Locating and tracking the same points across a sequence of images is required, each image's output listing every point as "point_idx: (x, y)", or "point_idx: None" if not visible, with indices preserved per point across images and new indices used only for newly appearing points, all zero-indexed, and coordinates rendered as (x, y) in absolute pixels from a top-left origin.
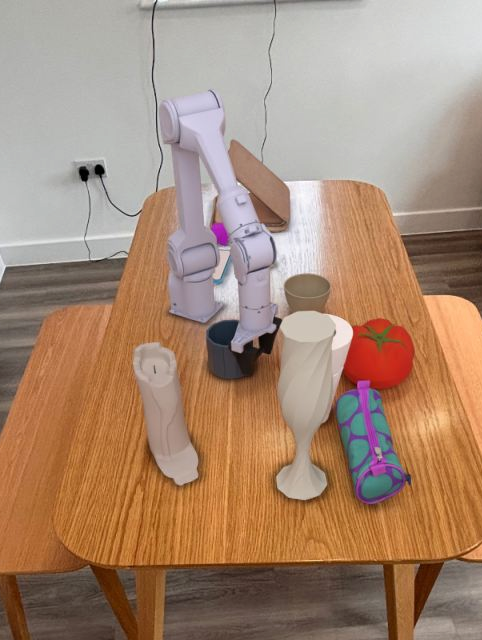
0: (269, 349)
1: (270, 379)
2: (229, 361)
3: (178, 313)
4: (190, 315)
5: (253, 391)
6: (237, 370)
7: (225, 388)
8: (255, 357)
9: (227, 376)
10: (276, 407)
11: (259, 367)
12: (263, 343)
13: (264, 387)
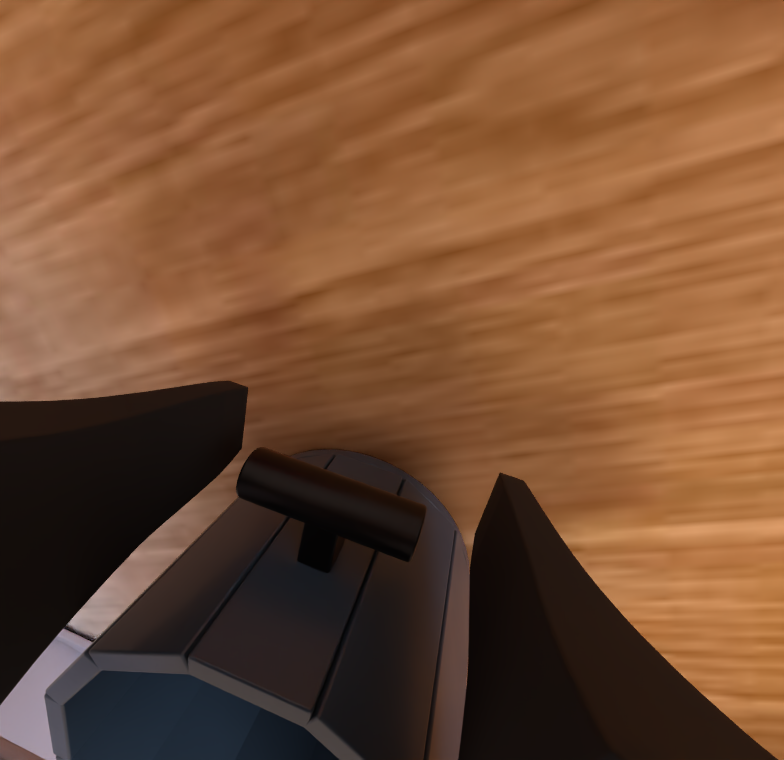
0: (217, 405)
1: (418, 331)
2: (456, 670)
3: None
4: None
5: (561, 415)
6: (450, 558)
7: None
8: (396, 520)
9: (469, 578)
10: (760, 211)
11: (323, 415)
12: (186, 469)
13: (508, 353)
